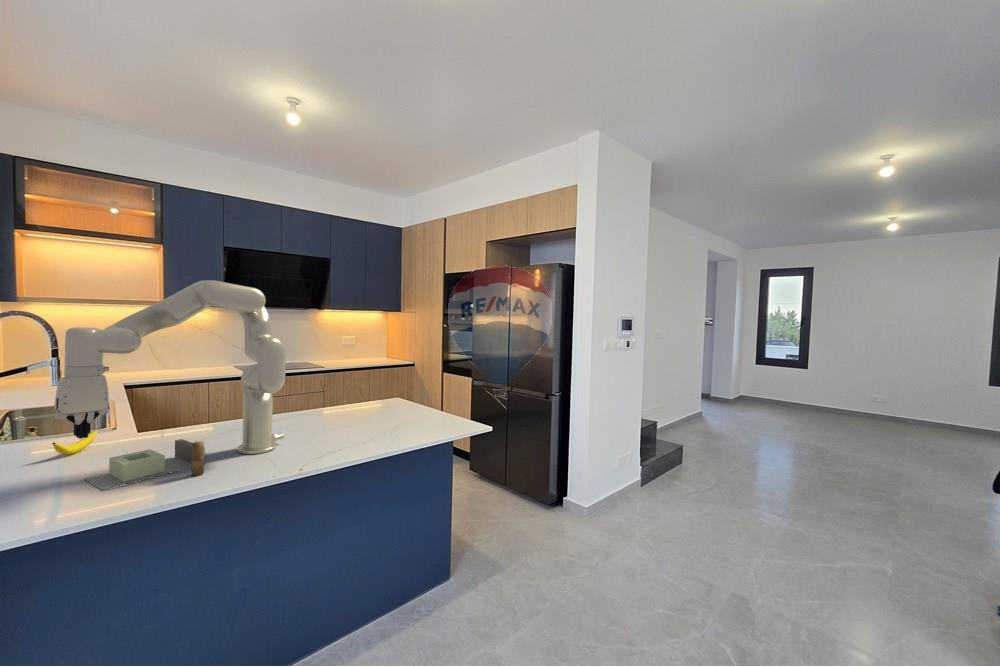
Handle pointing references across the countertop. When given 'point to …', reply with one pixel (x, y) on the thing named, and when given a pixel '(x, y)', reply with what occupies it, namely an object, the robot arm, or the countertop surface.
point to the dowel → (197, 458)
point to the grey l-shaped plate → (173, 464)
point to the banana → (75, 445)
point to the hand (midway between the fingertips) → (81, 437)
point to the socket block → (136, 465)
